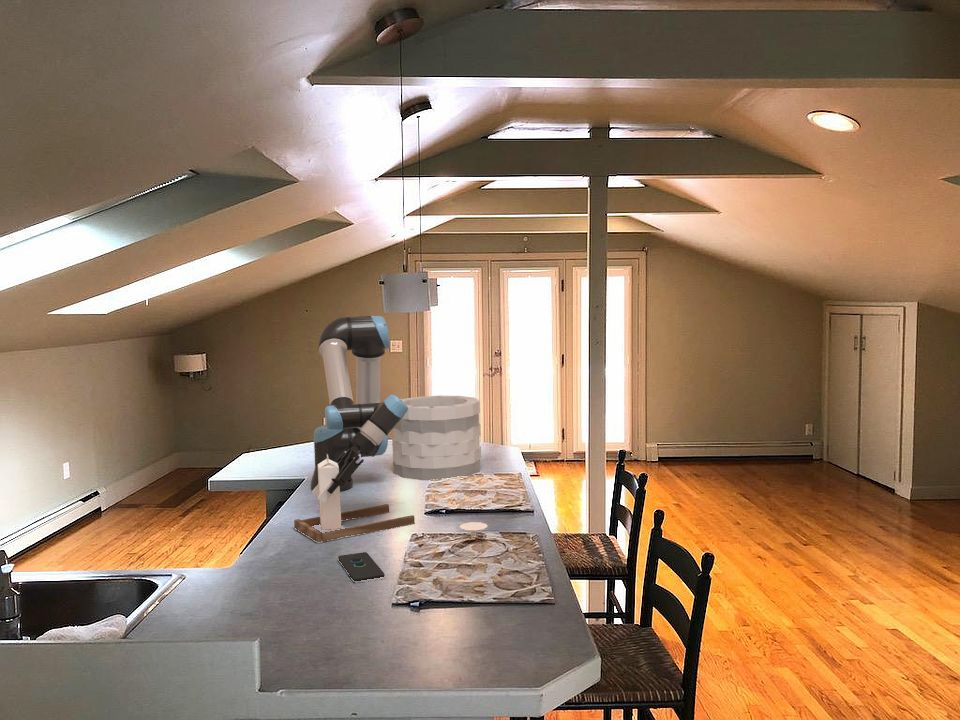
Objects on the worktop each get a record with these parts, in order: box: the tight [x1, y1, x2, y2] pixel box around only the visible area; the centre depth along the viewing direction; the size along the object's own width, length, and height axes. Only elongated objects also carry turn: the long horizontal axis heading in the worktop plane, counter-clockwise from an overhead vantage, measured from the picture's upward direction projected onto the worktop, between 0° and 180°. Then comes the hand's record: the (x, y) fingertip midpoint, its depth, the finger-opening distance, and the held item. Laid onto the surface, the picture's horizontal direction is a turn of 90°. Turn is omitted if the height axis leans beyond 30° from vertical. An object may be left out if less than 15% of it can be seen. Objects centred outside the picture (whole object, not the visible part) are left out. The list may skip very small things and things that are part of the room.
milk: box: [318, 454, 342, 530], centre depth 257 cm, size 6×6×22 cm
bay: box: [293, 503, 416, 542], centre depth 262 cm, size 18×32×3 cm, turn 124°
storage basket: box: [391, 395, 482, 481], centre depth 337 cm, size 35×35×27 cm
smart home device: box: [337, 551, 386, 581], centre depth 224 cm, size 8×2×20 cm
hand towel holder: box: [459, 521, 500, 539], centre depth 240 cm, size 17×4×21 cm
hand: (317, 497), depth 256 cm, fingers closed on milk, 7 cm apart
